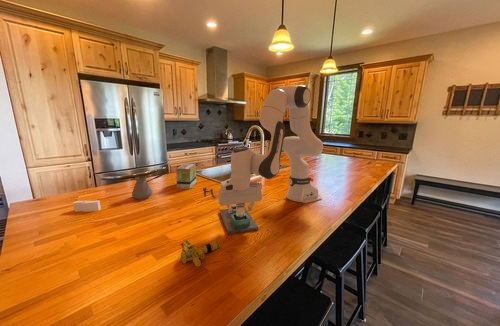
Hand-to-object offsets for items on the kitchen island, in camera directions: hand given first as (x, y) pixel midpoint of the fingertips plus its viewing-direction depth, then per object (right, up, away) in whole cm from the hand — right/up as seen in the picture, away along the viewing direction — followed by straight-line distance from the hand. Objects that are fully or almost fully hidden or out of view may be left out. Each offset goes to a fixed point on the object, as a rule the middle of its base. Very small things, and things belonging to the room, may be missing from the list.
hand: (240, 211), depth 95 cm
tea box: (-42, +6, +56) cm, 70 cm away
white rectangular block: (-82, -3, +14) cm, 83 cm away
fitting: (0, -5, +1) cm, 6 cm away
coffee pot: (-58, +1, +34) cm, 67 cm away
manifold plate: (-2, -6, +6) cm, 9 cm away
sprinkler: (-15, -12, -18) cm, 26 cm away
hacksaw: (-20, +1, +39) cm, 44 cm away
